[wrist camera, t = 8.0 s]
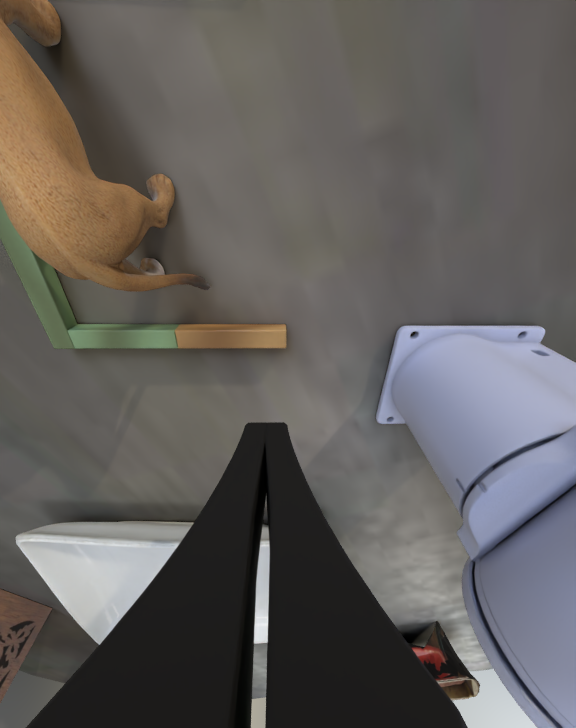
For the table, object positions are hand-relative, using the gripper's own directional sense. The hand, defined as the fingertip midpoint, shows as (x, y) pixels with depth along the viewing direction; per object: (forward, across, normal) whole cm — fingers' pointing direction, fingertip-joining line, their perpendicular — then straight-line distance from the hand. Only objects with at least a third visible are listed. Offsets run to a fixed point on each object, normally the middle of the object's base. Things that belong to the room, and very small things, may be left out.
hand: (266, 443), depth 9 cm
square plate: (+9, +9, +31) cm, 34 cm away
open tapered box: (+9, -25, +61) cm, 66 cm away
